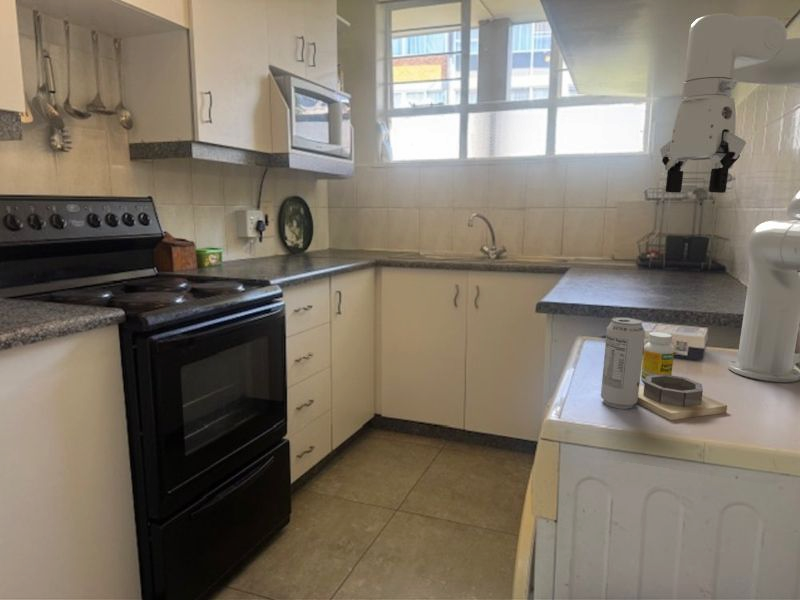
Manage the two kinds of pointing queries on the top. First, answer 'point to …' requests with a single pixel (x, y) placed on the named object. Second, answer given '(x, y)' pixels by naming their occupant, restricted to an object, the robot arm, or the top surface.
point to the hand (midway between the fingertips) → (694, 192)
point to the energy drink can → (622, 362)
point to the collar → (676, 397)
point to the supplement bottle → (658, 355)
